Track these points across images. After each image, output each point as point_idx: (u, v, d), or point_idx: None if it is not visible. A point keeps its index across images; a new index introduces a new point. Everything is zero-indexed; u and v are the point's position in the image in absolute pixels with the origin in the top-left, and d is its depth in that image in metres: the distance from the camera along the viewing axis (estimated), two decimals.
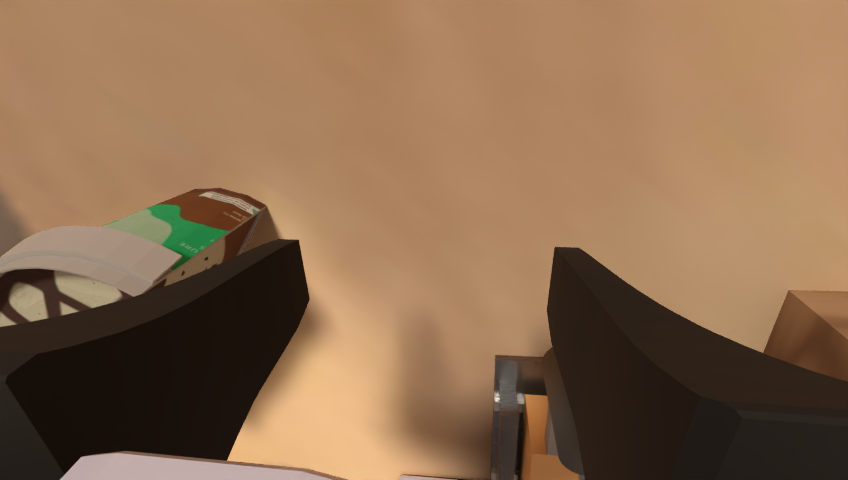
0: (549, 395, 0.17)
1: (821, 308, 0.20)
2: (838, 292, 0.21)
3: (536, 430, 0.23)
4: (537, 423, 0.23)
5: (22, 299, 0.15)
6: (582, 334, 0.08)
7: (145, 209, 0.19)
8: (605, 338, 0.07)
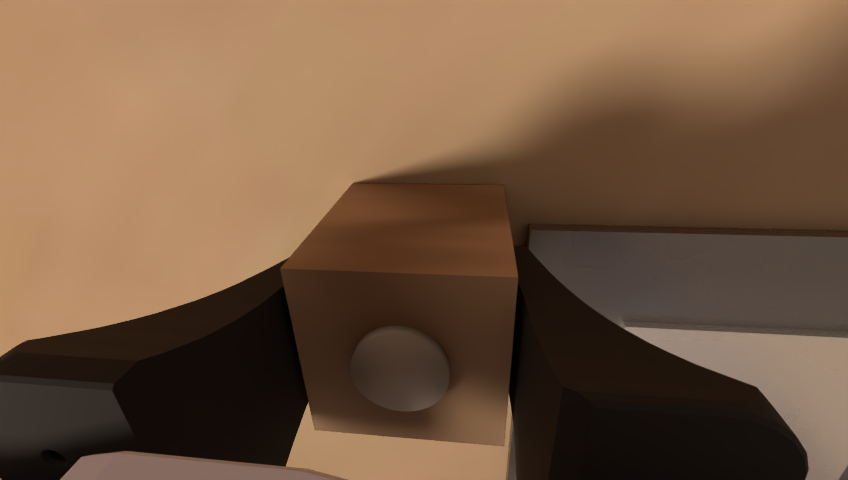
0: None
1: None
2: None
3: None
4: None
5: None
6: (516, 331, 0.09)
7: None
8: (526, 334, 0.07)
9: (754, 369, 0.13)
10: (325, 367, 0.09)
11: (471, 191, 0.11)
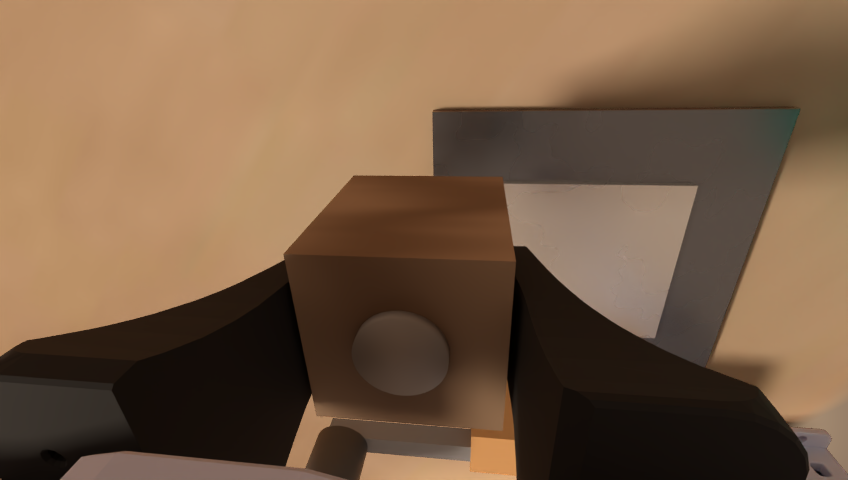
0: None
1: None
2: None
3: None
4: None
5: None
6: (516, 331, 0.09)
7: None
8: (526, 334, 0.07)
9: (591, 214, 0.18)
10: (327, 352, 0.09)
11: (470, 183, 0.11)
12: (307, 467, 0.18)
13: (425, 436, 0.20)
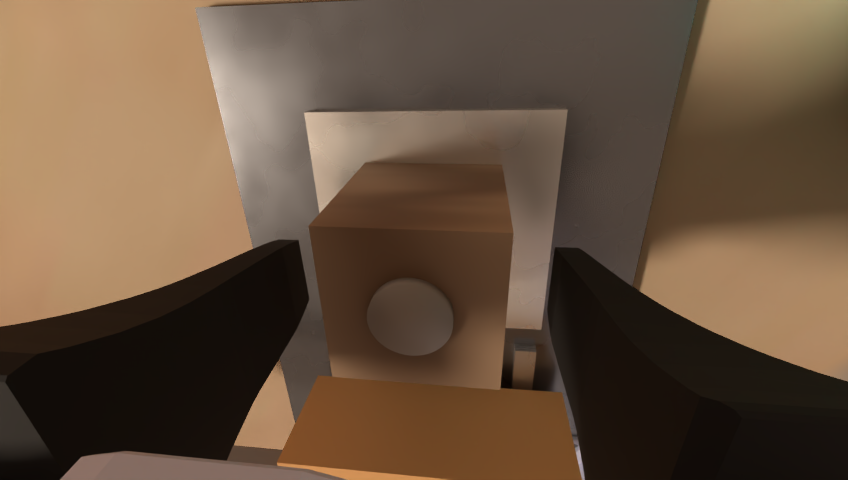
0: None
1: None
2: None
3: None
4: None
5: None
6: (582, 334, 0.08)
7: None
8: (605, 338, 0.07)
9: (430, 155, 0.13)
10: (344, 317, 0.10)
11: (473, 169, 0.12)
12: None
13: (227, 460, 0.15)
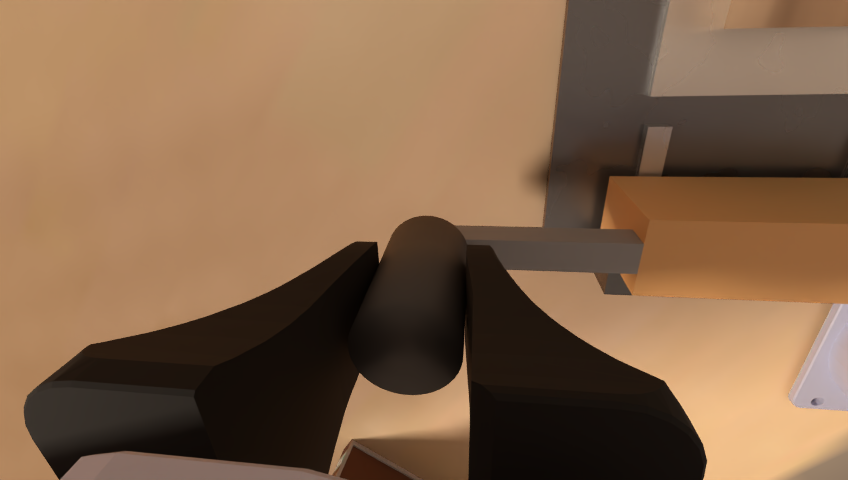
0: None
1: (759, 9, 0.11)
2: None
3: None
4: None
5: None
6: (470, 328, 0.09)
7: None
8: (472, 331, 0.07)
9: None
10: None
11: None
12: (383, 258, 0.11)
13: (563, 235, 0.12)
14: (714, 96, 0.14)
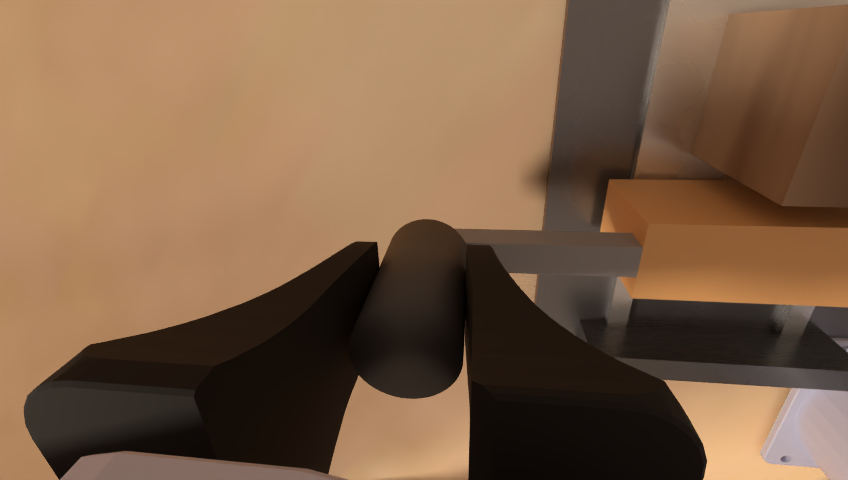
0: None
1: (718, 153, 0.13)
2: (712, 83, 0.14)
3: None
4: None
5: None
6: (470, 328, 0.09)
7: None
8: (472, 331, 0.07)
9: (809, 2, 0.12)
10: (840, 124, 0.09)
11: None
12: (384, 262, 0.11)
13: (563, 239, 0.12)
14: None
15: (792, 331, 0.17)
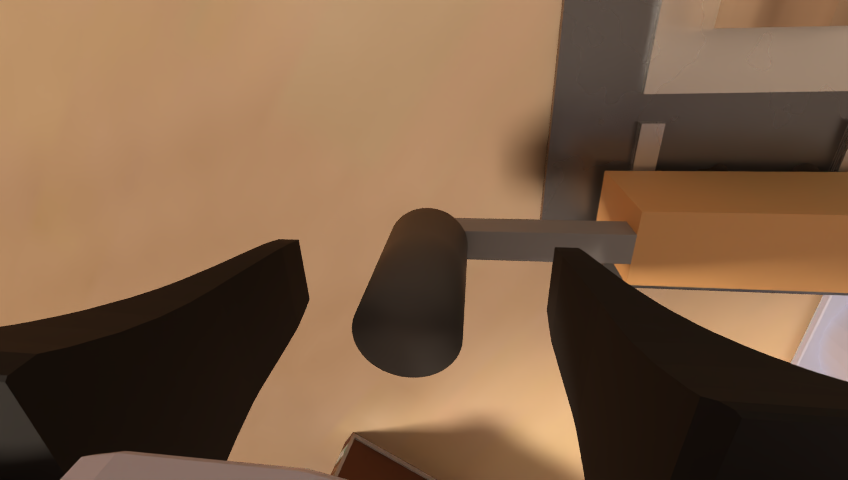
0: None
1: (747, 9, 0.12)
2: None
3: None
4: None
5: None
6: (582, 334, 0.08)
7: None
8: (605, 338, 0.07)
9: None
10: None
11: None
12: (386, 248, 0.11)
13: (559, 227, 0.13)
14: (705, 94, 0.14)
15: None
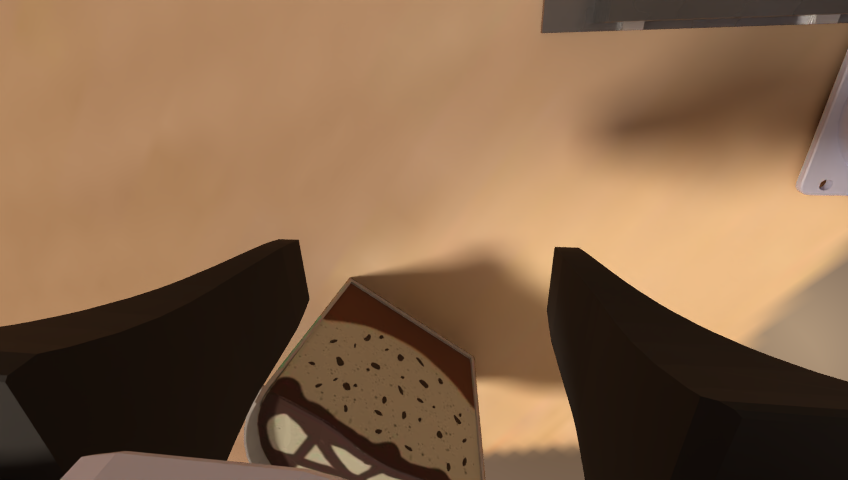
0: None
1: None
2: None
3: None
4: None
5: None
6: (582, 334, 0.08)
7: None
8: (605, 338, 0.07)
9: None
10: None
11: None
12: None
13: None
14: None
15: None
